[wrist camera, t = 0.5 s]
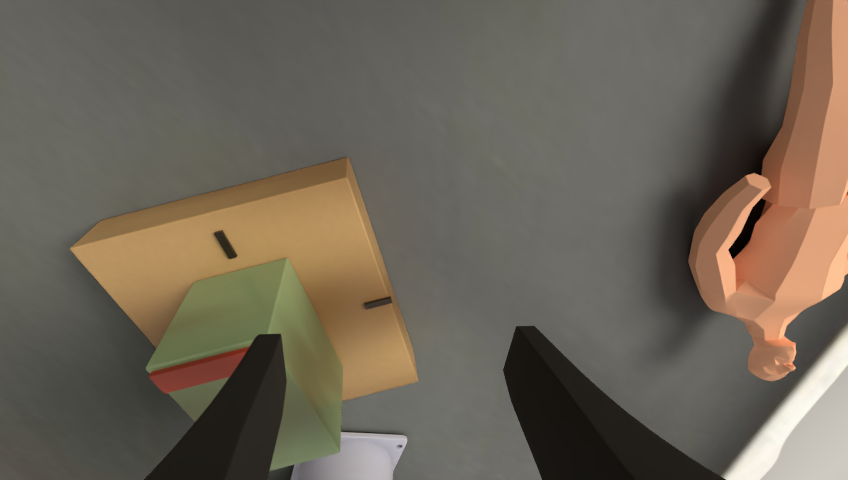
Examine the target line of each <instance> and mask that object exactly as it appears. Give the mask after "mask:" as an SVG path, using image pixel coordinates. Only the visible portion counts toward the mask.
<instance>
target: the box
mask: <svg viewBox="0 0 848 480" xmlns="http://www.w3.org/2000/svg"><path fill="white" fill-rule="evenodd" d="M259 334H281V336H282V344H283V353H284V361H285V370H286V378H287V384H286V392H285V400H284V408H283V415H282V420H281V424H280V428H279V433H278V437H277V441H276V445H275V450H274V454H273V458H272V462H271V466H270V470H269V471H272V470H276V469H280V468H283V467H287V466H291V465H295V464H299V463H302V462H306V461H310V460H314V459H318V458H322V457H325V456H329V455H333V454H337V453H339V452H340V442H341V415H342V387H343V366H342V364H341V362H340V360H339V358H338V356H337V354H336V352H335V350H334V348H333V346H332V344H331V342H330V340H329V338H328V336H327V334H326V332H325V330H324V328H323V326H322V324H321V322H320V320H319V318H318V316H317V314H316V312H315V310H314V308H313V306H312V304H311V302H310V300H309V298H308V296H307V294H306V292H305V290H304V288H303V286H302V284H301V282H300V280H299V278H298V276H297V274H296V272H295V270H294V268H293V266H292V264H291V262H290V260H289V259H288V258H285V259H281V260H277V261H273V262H269V263H265V264H262V265H258V266H254V267H250V268H246V269H242V270H238V271H234V272H231V273H227V274H223V275H219V276H215V277H211V278H207V279H203V280H200V281H196V282H194V283H193V284H192V286H191V288H190V290H189V291H188V293H187V295H186V297H185V298H184V300H183V302H182V304H181V306H180V307H179V309H178V311H177V313H176V314H175V316H174V318H173V320H172V322H171V323H170V325H169V327H168V329H167V330H166V332H165V334H164V336H163V338H162V339H161V341H160V343H159V345H158V346H157V348H156V350H155V352H154V354H153V355H152V357H151V359H150V361H149V363H148V364H147V366H146V370H147V372H148V373H149V374H150V375H149V378H150V379H151V380H152V381H153V382H154V383H155V385H156V386H157V387H158V388H159V389H160V390H161V391H162V392H163V393H164V394H166V393H168V394H169V395H170V396H171V397H172V398H173V399H174V400H175V401H176V402H177V403H178V404H179V405H180V407H181V408H182V409H183V410H184V411H185V412H186V413H187V414H188V415H189V416H190V417H191V418H192V419H193V420H194V421H195V422H196V421H197V419H198V418H199V417H200V416H201V414H202V413H203V412H204V411H205V409H206V408H207V407H208V406H209V404H210V403H211V402H212V400H213V399H214V398H215V396H216V395H217V394H218V392H219V391H220V390H221V388H222V387H223V385H224V384H225V383H226V381H227V380H228V379H229V377H230V376H231V374H232V373H233V371H234V370H235V369H236V367H237V366H238V364H239V363H240V361H241V360H242V358H243V356H244V355H245V353H246V352H247V350H248V349H249V347H250V345H251V344H252V342H253V340H254V339H255V337H256V336H257V335H259Z"/></svg>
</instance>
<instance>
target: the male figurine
mask: <svg viewBox="0 0 848 480" xmlns="http://www.w3.org/2000/svg"><path fill="white" fill-rule="evenodd" d="M761 198H762V199H764V200H766V203H765V206H764V208H763V211H762V214H761V217H760V219H759V220H758V221H757V222H756V223H755V226H754V229H753V233H752V236H751V239H750V241H749V242H748V243H747V245H746V246H745V247H744V248H743V249H742V251H741V252H740V253H739V254H738V255H737V256H736V257H735V258H734V259H732V257H731V255H730V253H729V251H728V250H729V248H730V247H731V246H732V244H733V243H734V241H735V240H736V239H737V237H738V236H739V235H740V233H741V231H742V229H743V227H744V225H745V223H746V220H747V218H748V216H749V214H750V212H751V210H752V207H753V206H754V205H755V204H756V203H757V202H758V201H759V200H760V199H761ZM688 263H689V266H690V269H691V272H692V275H693V277H694V280H695V282H696V285H697V288H698V290H699V292H700V294H701V297H702V299H703V300H704V302H705V303H706V305H707V306H708V307H709V308H710V309H712V310H713V311H717V312H721V313H725V314H728V315H732V316H734V317H736V318H737V319H739V320H741V321H743V322H744V323H745V324H746V328H747V331H748V332H749V333H750V335H751V336H752V339H753V342H754V347H753V348H752V350H751V353H750V355H749V358H748V368H749V371H750V372H752V373H753V374H754V375H756V376H757V377H759V378H761V379H764V380H767V381H775V380H778V379H781V378H783V377H785V376H786V374H788V373H789V372H791V371H794V370H795V366H794V365H793V364H792V362H793V360H795V359H794V357H795V354H796V348H795V345H796V343H794V342H791V341H790V340H788V339H787V338H786V337H784V333H785V330H786V326H787V325H788V324H789V323H790V322H791V321H792V320H793V319H794V318H795V317H796V316H797V315H798V314H799V313H800V312H801V311H803V310H804V309H806V308H808V307H810V306H812V305H814V304H816V303H818V302H820V301H822V300H823V299H825V298H826V297H828V296H829V295H831V294H832V293H834V292H836V291H837V290H839V289H840V288H841V286H842V284H843V281H844V276H845V275H846V274H848V0H807V4H806V8H805V12H804V16H803V20H802V24H801V28H800V32H799V36H798V42H797V48H796V55H795V62H794V68H793V75H792V82H791V88H790V93H789V97H788V102H787V107H786V111H785V116H784V120H783V125H782V128H781V129H780V131H779V133H778V135H777V136H776V138H775V140H774V142H773V143H772V145H771V147H770V149H769V150H768V152H767V154H766V156H765V157H764V159H763V166H762V175H761V176H760V175H758V174H755V173H753V174H750V175H746V176H745V177H743V178H742V179H741V180H739V181H738V182H737V183H735V184H734V185H733V186H732V187H730V188H729V189H728V190H726V191H725V192H724V193H723V194H722V195H721V196H720V197H719V198H718V199H717V200H716V201H715V202H714V203H713V205H712V206H711V207H710V208H709V209H708V210H707V211H706V212H705V213H704V215H703V217H702V219H701V220H700V222H699V224H698V226H697V227H696V229H695V231H694V235H693V240H692V245H691V250H690V255H689V259H688Z"/></svg>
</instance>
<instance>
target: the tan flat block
mask: <svg viewBox="0 0 848 480" xmlns="http://www.w3.org/2000/svg"><path fill="white" fill-rule="evenodd" d="M70 250H71V251H72V253H73V254H74V255H75V256H76V257H77V258H78V259H79V261H80V262H81V263H82V264H83V265H84V266H85V267H86V269H87V270H88V271H89V272H90V273H91V274H92V275H93V277H94V278H95V279H96V280H97V281H98V282H99V283H100V284H101V286H102V287H103V288H104V289H105V290H106V291H107V292H108V294H109V295H110V296H111V297H112V298H113V299H114V300H115V302H116V303H117V304H118V305H119V306H120V307H121V308H122V310H123V311H124V312H125V313H126V314H127V315H128V316H129V318H130V319H131V320H132V321H133V322H134V323H135V324H136V326H137V327H138V328H139V329H140V330H141V331H142V332H143V334H144V335H145V336H146V337H147V338H148V339H149V340H150V341H151V343H152V344H153V345H154V346H155V347H156V348H157V346H158V345H159V343H160V341H161V339H162V338H163V336H164V334H165V332H166V330H167V329H168V327H169V325H170V323H171V322H172V320H173V318H174V316H175V314H176V313H177V311H178V309H179V307H180V306H181V304H182V302H183V300H184V298H185V297H186V295H187V293H188V291H189V290H190V288H191V286H192V284H193V283H194V282H196V281H200V280H203V279H207V278H211V277H215V276H219V275H223V274H227V273H231V272H234V271H238V270H242V269H246V268H250V267H254V266H258V265H262V264H265V263H269V262H273V261H277V260H281V259H285V258H288V259H289V260H290V262H291V264H292V266H293V268H294V270H295V272H296V274H297V276H298V278H299V280H300V282H301V284H302V286H303V288H304V290H305V292H306V294H307V296H308V298H309V300H310V302H311V304H312V306H313V308H314V310H315V312H316V314H317V316H318V318H319V320H320V322H321V324H322V326H323V328H324V330H325V332H326V334H327V336H328V338H329V340H330V342H331V344H332V346H333V348H334V350H335V352H336V354H337V356H338V358H339V360H340V362H341V364H342V366H343V387H342V401H345V400H349V399H353V398H357V397H361V396H365V395H368V394H372V393H376V392H380V391H384V390H388V389H391V388H395V387H399V386H403V385H407V384H411V383H414V382H417V381H418V377H417V370H416V364H415V358H414V351H413V348H412V345H411V342H410V339H409V336H408V333H407V330H406V327H405V324H404V321H403V318H402V315H401V312H400V309H399V306H398V303H397V300H396V297H395V294H394V292H393V289H392V286H391V283H390V280H389V277H388V274H387V271H386V268H385V265H384V262H383V259H382V256H381V253H380V250H379V247H378V244H377V241H376V238H375V235H374V232H373V229H372V226H371V223H370V220H369V217H368V214H367V211H366V208H365V205H364V202H363V199H362V196H361V193H360V190H359V187H358V184H357V181H356V178H355V175H354V172H353V169H352V166H351V163H350V160H349V158H348V157H346V158H342V159H338V160H334V161H330V162H327V163H323V164H319V165H315V166H311V167H307V168H303V169H299V170H295V171H291V172H288V173H284V174H280V175H276V176H272V177H268V178H264V179H260V180H256V181H252V182H249V183H245V184H241V185H237V186H233V187H229V188H225V189H221V190H217V191H213V192H209V193H206V194H202V195H198V196H194V197H190V198H186V199H182V200H178V201H174V202H170V203H167V204H163V205H159V206H155V207H151V208H147V209H143V210H139V211H135V212H131V213H127V214H124V215H120V216H116V217H112V218H108V219H104V220H101V221H100V222H99V223H98V224H97V225H95V226H94V227H93V228H92V229H91V230H90V231H89V232H88V233H87V234H85V235H84V236H83V237H82V238H81V239H80V240H79V241H78V242H76V243H75V244H74V245H73V246H72V247H71V248H70Z"/></svg>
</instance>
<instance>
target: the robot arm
mask: <svg viewBox="0 0 848 480" xmlns="http://www.w3.org/2000/svg"><path fill="white" fill-rule="evenodd" d="M503 371H504V375H505V379H506V383H507V387H508V391H509V395H510V398H511V402H512V404H513V407H514V409H515V412H516V415H517V417H518V420H519V422H520V425H521V427H522V430H523V432H524V435H525V437H526V440H527V442H528V445H529V447H530V450H531V452H532V455H533V457H534V460H535V462H536V465H537V467H538V470H539V472H540V475H541V478H542V480H725V479H724V478H722V477H720V476H719V475H717V474H715V473H714V472H712V471H710V470H709V469H707V468H706V467H704V466H702V465H701V464H699V463H698V462H696V461H694V460H693V459H691V458H690V457H688V456H687V455H685V454H684V453H682V452H681V451H679V450H678V449H676V448H675V447H674V446H672V445H671V444H669V443H668V442H666V441H665V440H663V439H662V438H660V437H659V436H658V435H656V434H655V433H653V432H652V431H651V430H649V429H648V428H647V427H646V426H644V425H643V424H642V423H640V422H639V421H638V420H636V419H635V418H634V417H632V416H631V415H630V414H629V413H627V412H626V411H625V410H624V409H622V408H621V407H620V406H619V405H618V404H616V403H615V402H614V401H613V400H612V399H611V398H609V397H608V396H607V395H606V394H605V393H604V392H602V391H601V390H600V389H599V388H598V387H597V386H596V385H595V384H594V383H592V382H591V381H590V380H589V379H588V378H587V377H586V376H585V375H584V374H583V373H582V372H581V371H580V370H578V369H577V368H576V367H575V366H574V365H573V364H572V363H571V362H570V361H569V360H568V359H567V358H566V357H565V356H564V355H563V354H562V353H561V352H560V351H559V350H558V349H557V348H556V347H555V346H554V345H553V344H552V343H551V342H550V341H549V340H548V339H547V338H546V337H545V336H544V335H543V334H542V333H541V332H540V331H539V330H538V329H537V328H536V327H535V326H516V329H515V332H514V336H513V339H512V342H511V346H510V349H509V352H508V356H507V359H506V362H505V366H504V369H503ZM286 384H287V378H286V370H285V361H284V353H283V344H282V336H281V334H259V335H257V336H256V337H255V339H254V340H253V342H252V344H251V345H250V347H249V349H248V350H247V352H246V353H245V355H244V356H243V358H242V360H241V361H240V363H239V364H238V366H237V367H236V369H235V370H234V371H233V373H232V374H231V376H230V377H229V379H228V380H227V381H226V383H225V384H224V385H223V387H222V388H221V390H220V391H219V392H218V394H217V395H216V396H215V398H214V399H213V400H212V402H211V403H210V404H209V406H208V407H207V408H206V409H205V411H204V412H203V413H202V414H201V416H200V417H199V418H198V419H197V421H196V422H195V423H194V424H193V426H192V427H191V428H190V429H189V430H188V432H187V433H186V434H185V435H184V436H183V438H182V439H181V440H180V441H179V442H178V443H177V444H176V446H175V447H174V448H173V449H172V450H171V451H170V452H169V453H168V455H167V456H166V457H165V458H164V459H163V460H162V461H161V462H160V463H159V464H158V465H157V466H156V468H155V469H154V470H153V471H152V472H151V473H150V474H149V475H148V476H147V477H146V478H145V479H144V480H267V479H268V474H269V470H270V466H271V462H272V458H273V454H274V450H275V445H276V441H277V437H278V433H279V428H280V424H281V420H282V415H283V408H284V400H285V392H286ZM406 444H407V437H406V436H404V435H394V434H375V433H355V432H341V442H340V452H339V453H337V454H333V455H329V456H325V457H322V458H318V459H314V460H310V461H306V462H302V463H299V464H295V465H294V468H293V472H292V475H291V479H290V480H393V473H392V472H393V470H394V468H395V466H396V464H397V462H398V460H399V458H400V456H401V454H402V452H403V450H404V448H405V446H406Z"/></svg>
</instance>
